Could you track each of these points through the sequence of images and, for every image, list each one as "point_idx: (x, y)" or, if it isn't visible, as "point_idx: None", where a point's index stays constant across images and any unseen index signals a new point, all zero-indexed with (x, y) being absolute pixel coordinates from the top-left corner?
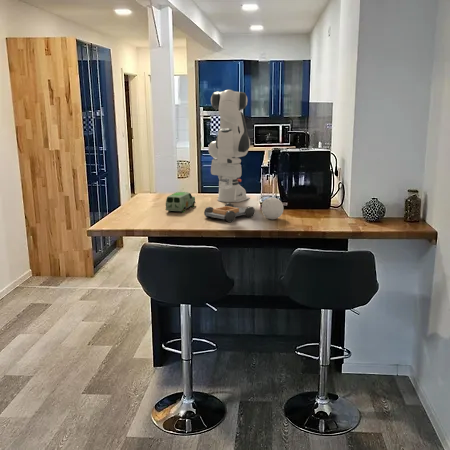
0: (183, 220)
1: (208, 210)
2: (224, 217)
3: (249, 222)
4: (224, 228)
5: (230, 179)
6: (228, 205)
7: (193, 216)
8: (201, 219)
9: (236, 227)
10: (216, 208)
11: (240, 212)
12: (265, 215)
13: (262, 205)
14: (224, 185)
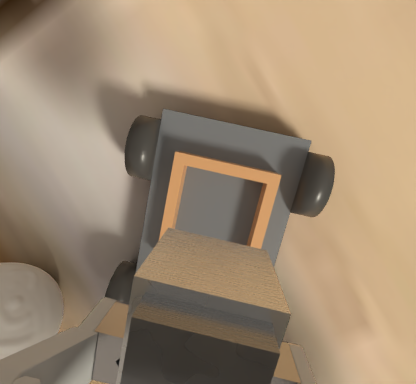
0: (396, 44)
1: (306, 167)
2: (163, 116)
3: (80, 186)
4: (103, 9)
5: (5, 359)
6: None
7: (391, 160)
8: (314, 121)
9: (69, 63)
10: (265, 195)
11: (143, 242)
12: (33, 266)
13: (11, 298)
14: (159, 248)
